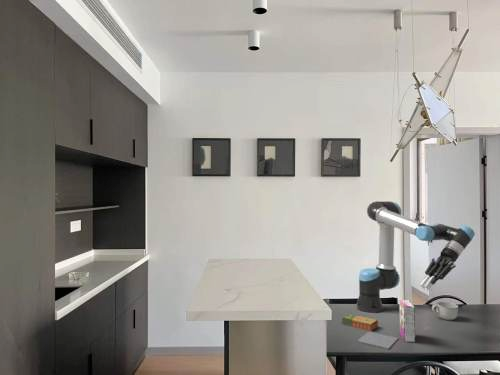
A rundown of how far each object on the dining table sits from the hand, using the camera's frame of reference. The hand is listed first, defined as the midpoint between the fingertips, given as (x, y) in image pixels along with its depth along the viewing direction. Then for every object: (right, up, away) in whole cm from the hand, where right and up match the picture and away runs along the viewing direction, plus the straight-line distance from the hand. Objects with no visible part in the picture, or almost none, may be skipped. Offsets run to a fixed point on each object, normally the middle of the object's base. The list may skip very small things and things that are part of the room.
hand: (424, 287), depth 178 cm
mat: (-25, -23, -7) cm, 35 cm away
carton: (-28, -24, +13) cm, 39 cm away
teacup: (+23, -25, +26) cm, 43 cm away
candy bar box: (-10, -23, -4) cm, 26 cm away
